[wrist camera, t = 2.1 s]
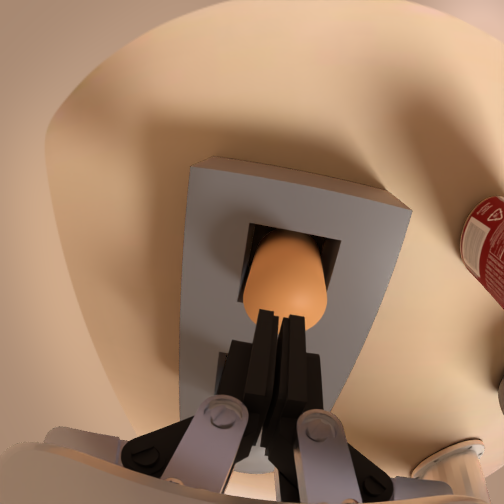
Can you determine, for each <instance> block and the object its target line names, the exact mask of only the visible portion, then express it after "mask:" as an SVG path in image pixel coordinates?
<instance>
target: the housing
mask: <svg viewBox="0 0 504 504" xmlns="http://www.w3.org/2000/svg"><path fill="white" fill-rule="evenodd" d="M411 214H412V210H411V209H410V208H409V207H407V206H406V205H405V204H404V203H402V202H401V201H400V200H399V199H397V198H396V197H395V196H394V195H392V194H391V193H390V192H388V191H386V190H383V189H379V188H375V187H371V186H367V185H363V184H358V183H354V182H350V181H346V180H341V179H337V178H332V177H328V176H323V175H319V174H314V173H309V172H304V171H299V170H294V169H289V168H283V167H278V166H272V165H267V164H261V163H255V162H249V161H242V160H236V159H229V158H223V157H216V156H213V157H211V158H208V159H206V160H204V161H201V162H199V163H197V164H194V165H192V166H190V175H189V185H188V196H187V207H186V219H185V232H184V246H183V262H182V280H181V304H180V340H179V403H180V421H182V420H184V419H187V418H189V417H192V416H194V415H195V414H196V412H197V410H198V408H199V406H200V405H201V404H202V402H203V401H204V400H206V399H207V398H209V397H211V396H215V395H217V394H218V390H219V387H220V383H221V379H222V375H223V371H224V368H225V366H224V365H225V358H226V353H228V352H229V349H230V345H231V341H232V340H237V341H242V342H248V343H252V342H253V338H254V333H255V328H256V324H255V323H254V322H253V321H252V320H251V319H250V318H249V316H248V315H247V313H246V310H245V308H244V304H243V294H244V290H245V286H246V283H247V279H248V276H249V273H250V269H251V266H248V265H249V259H250V253H251V247H252V241H253V235H254V229H255V224H260V225H265V226H270V227H276V228H281V229H286V230H291V231H296V232H301V233H306V234H312V235H317V236H322V237H326V238H325V242H324V246H323V250H322V254H321V263H322V268H323V274H324V280H325V286H326V293H327V306H326V310H325V312H324V314H323V316H322V318H321V319H320V320H319V321H318V322H317V323H316V324H315V325H314V326H313V327H311V328H310V329H308V330H306V331H305V333H306V352H307V353H314V354H319V355H320V363H321V376H322V391H323V408H324V410H326V411H328V412H330V411H331V409H332V407H333V405H334V404H335V402H336V400H337V398H338V396H339V394H340V392H341V390H342V388H343V386H344V384H345V382H346V380H347V378H348V376H349V374H350V372H351V370H352V368H353V366H354V364H355V362H356V360H357V358H358V356H359V353H360V351H361V349H362V347H363V345H364V342H365V340H366V338H367V336H368V333H369V331H370V329H371V326H372V324H373V322H374V319H375V317H376V314H377V312H378V310H379V307H380V305H381V302H382V300H383V297H384V294H385V292H386V289H387V287H388V284H389V281H390V278H391V276H392V273H393V270H394V267H395V264H396V262H397V259H398V256H399V253H400V250H401V247H402V244H403V241H404V237H405V234H406V231H407V228H408V224H409V221H410V218H411ZM278 335H279V334H278ZM277 339H278V338H277Z"/></svg>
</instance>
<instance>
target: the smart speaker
mask: <svg viewBox="0 0 504 504" xmlns="http://www.w3.org/2000/svg"><path fill="white" fill-rule="evenodd" d="M498 398H499V403H500V407H501V410H502V412H503V415H504V377H503V379H502V381H501V383H500V386H499V392H498Z"/></svg>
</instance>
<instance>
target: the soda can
mask: <svg viewBox="0 0 504 504" xmlns="http://www.w3.org/2000/svg"><path fill="white" fill-rule="evenodd" d="M460 253H461V258H462V261H463V263H464V265H465V267H466V268H467V269H468V270H469V272H470V273H471V274H472V275H473V276H474V277H475V278H476V279H477V280H478V281H479V282H480V283H481V284H482V285H483V286H484V288H485V289H486V290H487V291H488V292H489V293H490V294H491V295H492V296H493V298H494V299H495V300H496V301H497V302H498V303H499V304H500V306H501V307H502V308H503V309H504V197H502V196H492V197H489V198H486V199H484V200H483V201H481V202H480V203H479V204H478V205H477V206H476V207H475V208H474V209H473V210H472V211H471V213H470V214H469V216H468V218H467V220H466V222H465V224H464V227H463V230H462V233H461V239H460Z"/></svg>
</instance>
